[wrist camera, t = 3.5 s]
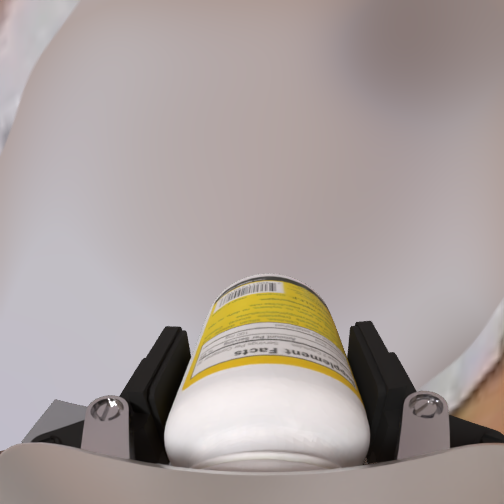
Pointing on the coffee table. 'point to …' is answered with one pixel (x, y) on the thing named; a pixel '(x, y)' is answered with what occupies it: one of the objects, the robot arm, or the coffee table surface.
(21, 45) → the coffee table surface
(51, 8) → the coffee table surface
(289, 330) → the supplement bottle
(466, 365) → the coffee table surface
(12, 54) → the coffee table surface
